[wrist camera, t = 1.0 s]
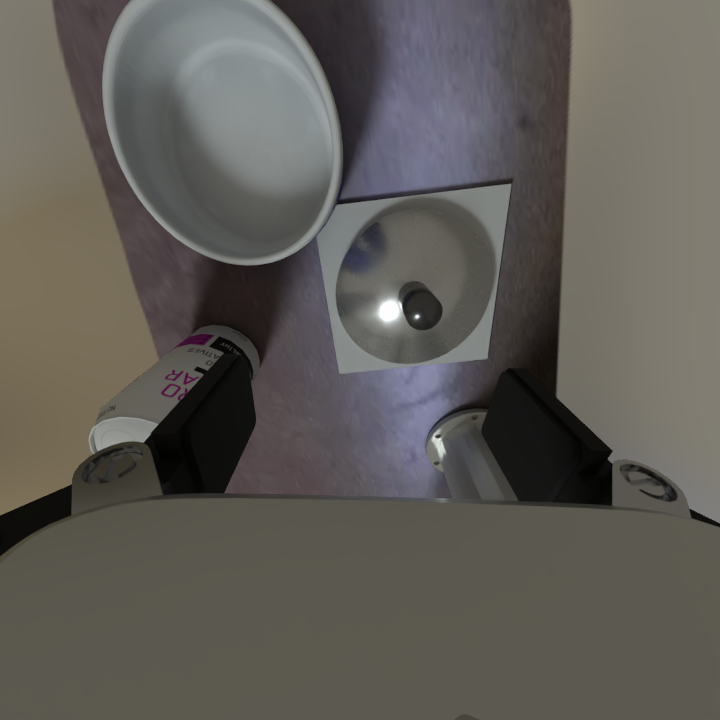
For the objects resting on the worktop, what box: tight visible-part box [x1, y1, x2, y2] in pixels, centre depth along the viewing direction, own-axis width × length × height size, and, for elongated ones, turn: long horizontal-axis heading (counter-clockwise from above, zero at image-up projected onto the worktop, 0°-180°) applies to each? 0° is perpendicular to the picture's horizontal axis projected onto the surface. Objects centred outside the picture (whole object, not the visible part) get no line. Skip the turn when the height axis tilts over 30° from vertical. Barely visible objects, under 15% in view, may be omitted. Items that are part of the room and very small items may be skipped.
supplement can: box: [89, 325, 260, 454], centre depth 26 cm, size 8×8×15 cm
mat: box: [316, 184, 511, 374], centre depth 30 cm, size 18×18×1 cm
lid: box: [336, 208, 493, 364], centre depth 27 cm, size 16×16×6 cm
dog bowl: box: [102, 0, 344, 265], centre depth 21 cm, size 15×15×6 cm
